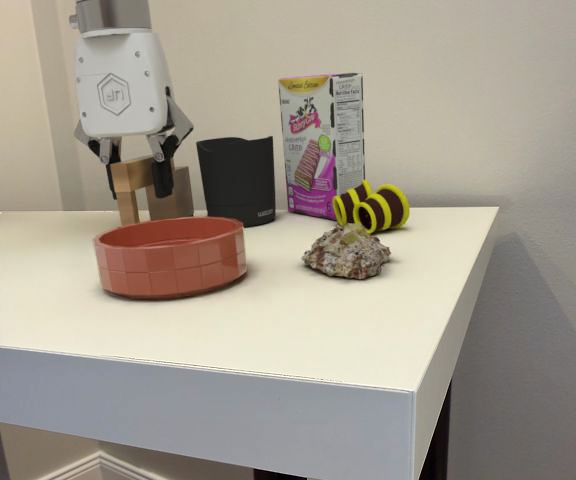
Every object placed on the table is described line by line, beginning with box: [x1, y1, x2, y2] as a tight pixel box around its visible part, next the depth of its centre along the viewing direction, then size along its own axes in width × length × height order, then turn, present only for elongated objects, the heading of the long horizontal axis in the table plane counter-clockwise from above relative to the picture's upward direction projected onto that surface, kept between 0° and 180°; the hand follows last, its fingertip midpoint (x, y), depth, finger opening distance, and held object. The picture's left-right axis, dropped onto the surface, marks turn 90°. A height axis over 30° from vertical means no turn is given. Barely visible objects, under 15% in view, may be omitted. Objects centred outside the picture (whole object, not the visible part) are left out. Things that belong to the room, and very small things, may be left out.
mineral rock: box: [301, 222, 392, 280], centre depth 60 cm, size 11×4×8 cm
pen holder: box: [195, 135, 277, 228], centre depth 82 cm, size 9×9×10 cm
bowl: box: [91, 215, 248, 300], centre depth 59 cm, size 13×13×4 cm
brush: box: [110, 153, 195, 226], centre depth 80 cm, size 14×4×9 cm, turn 164°
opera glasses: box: [333, 179, 411, 235], centre depth 74 cm, size 10×5×5 cm, turn 22°
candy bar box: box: [277, 72, 366, 221], centre depth 82 cm, size 11×5×16 cm, turn 34°
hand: (143, 195), depth 77 cm, fingers open, 4 cm apart
